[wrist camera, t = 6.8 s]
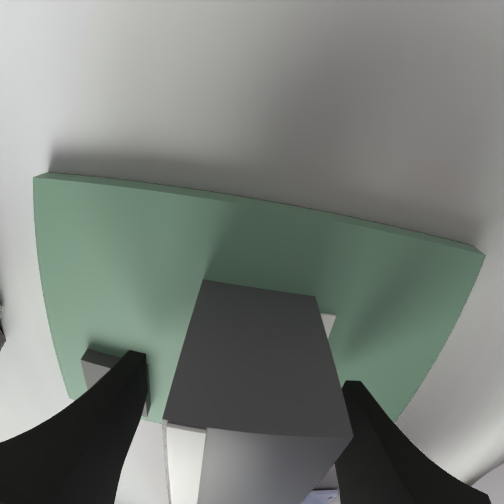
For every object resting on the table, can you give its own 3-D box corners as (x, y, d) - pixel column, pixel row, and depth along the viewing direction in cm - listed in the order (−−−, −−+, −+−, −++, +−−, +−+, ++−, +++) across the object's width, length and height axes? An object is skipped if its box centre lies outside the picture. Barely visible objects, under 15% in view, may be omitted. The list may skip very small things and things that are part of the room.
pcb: (377, 427, 16) (391, 472, 13) (75, 385, 15) (52, 429, 12) (473, 246, 11) (520, 283, 8) (47, 172, 10) (-10, 194, 7)
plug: (278, 404, 14) (285, 522, 8) (192, 392, 13) (169, 511, 8) (314, 296, 11) (354, 440, 6) (203, 279, 11) (161, 423, 5)
